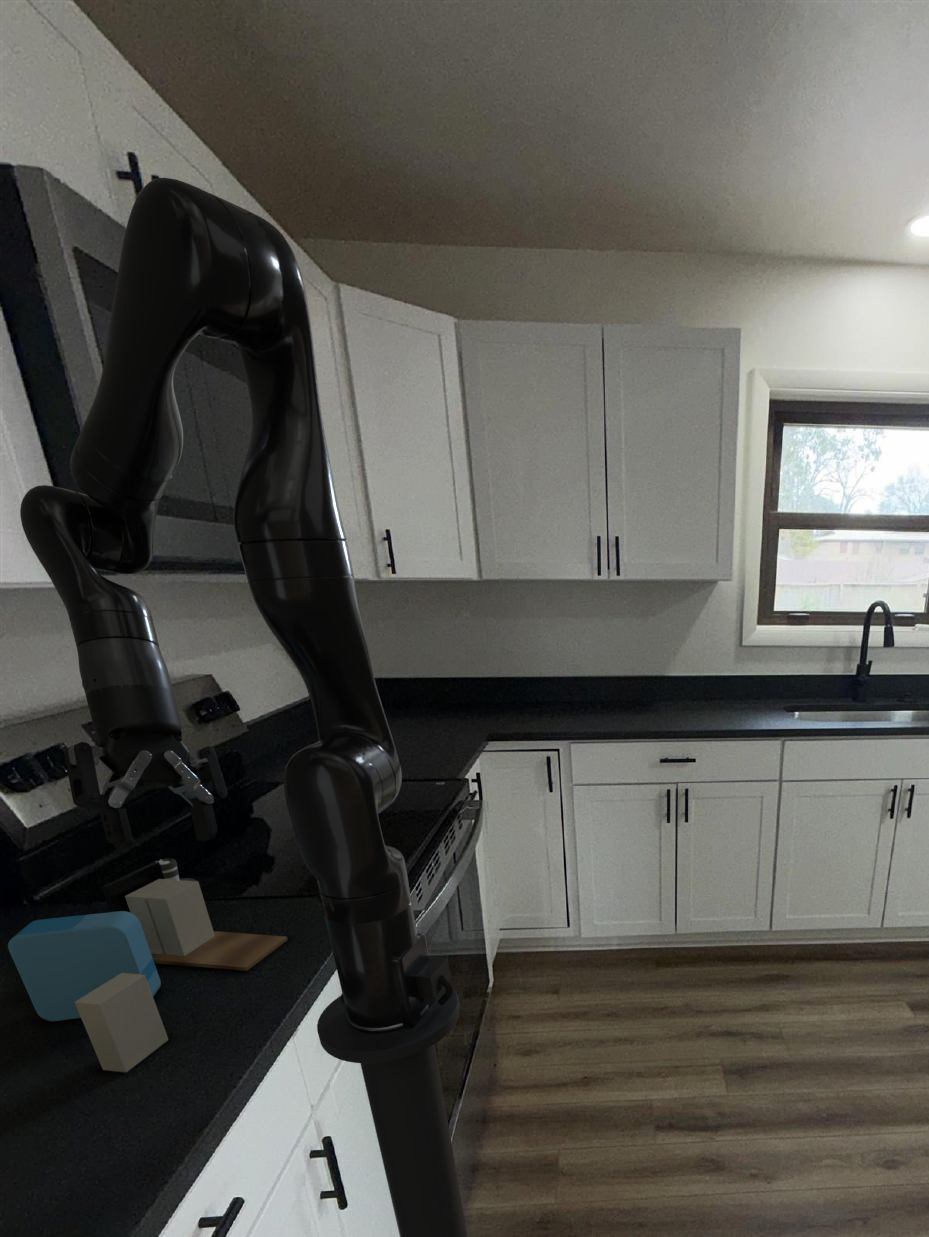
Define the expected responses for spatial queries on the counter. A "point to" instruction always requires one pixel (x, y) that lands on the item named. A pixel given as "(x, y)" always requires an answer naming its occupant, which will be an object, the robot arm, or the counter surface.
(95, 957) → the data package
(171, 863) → the coffee cup
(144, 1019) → the beige block
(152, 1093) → the counter surface
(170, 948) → the rack
